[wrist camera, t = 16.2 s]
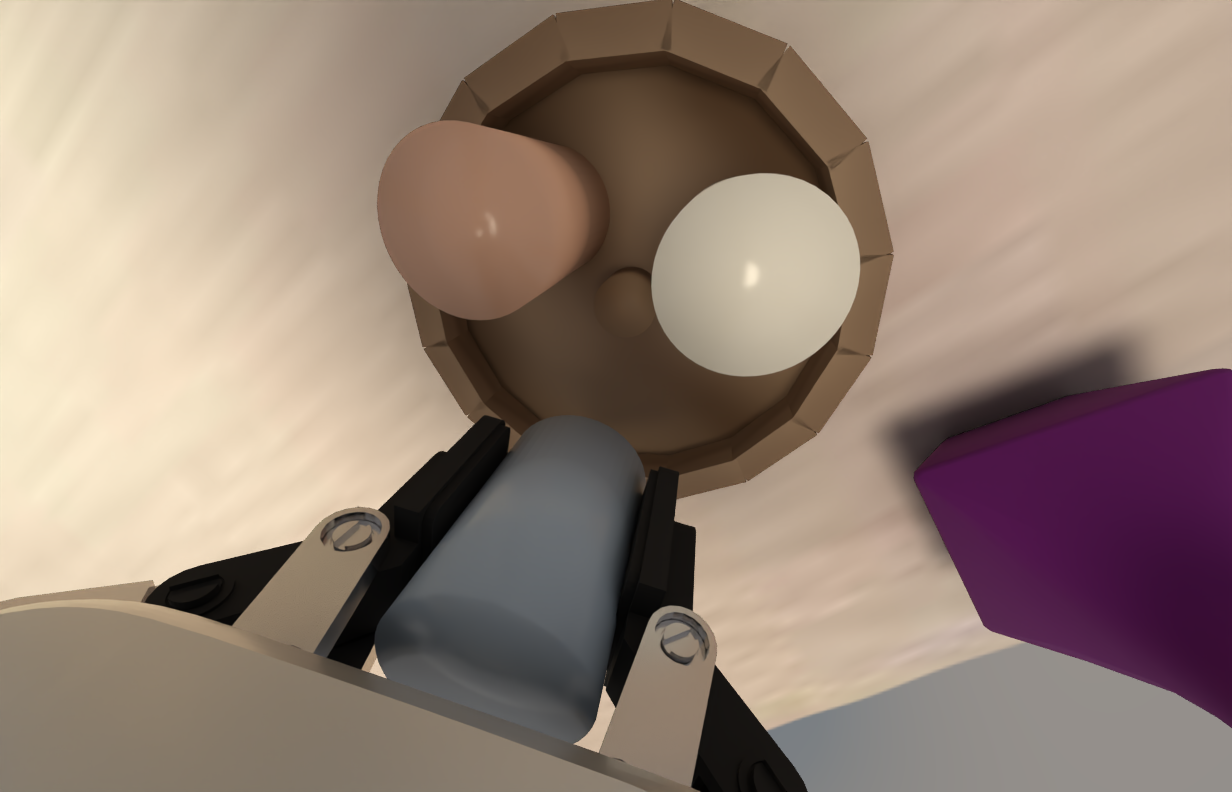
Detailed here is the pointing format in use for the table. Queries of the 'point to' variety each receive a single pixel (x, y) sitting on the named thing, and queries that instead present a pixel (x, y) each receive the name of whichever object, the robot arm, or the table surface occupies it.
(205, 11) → the table surface
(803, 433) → the groove tray
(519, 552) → the bead slate
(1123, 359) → the table surface
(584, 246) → the bead terracotta
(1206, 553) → the perfume bottle
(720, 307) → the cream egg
